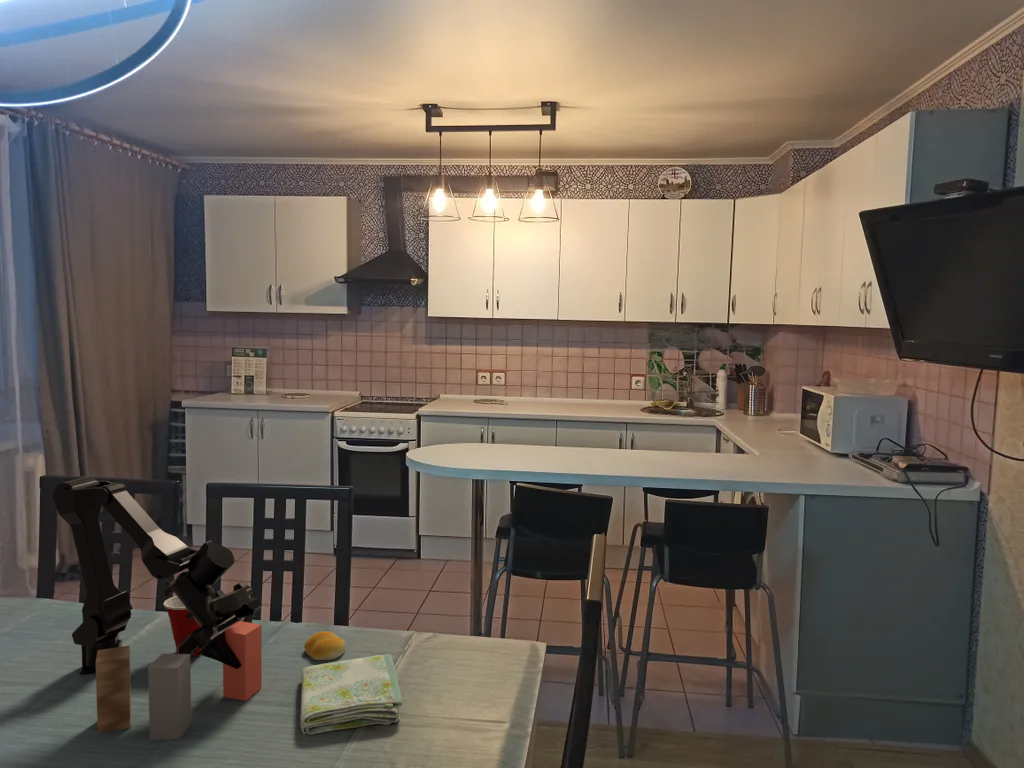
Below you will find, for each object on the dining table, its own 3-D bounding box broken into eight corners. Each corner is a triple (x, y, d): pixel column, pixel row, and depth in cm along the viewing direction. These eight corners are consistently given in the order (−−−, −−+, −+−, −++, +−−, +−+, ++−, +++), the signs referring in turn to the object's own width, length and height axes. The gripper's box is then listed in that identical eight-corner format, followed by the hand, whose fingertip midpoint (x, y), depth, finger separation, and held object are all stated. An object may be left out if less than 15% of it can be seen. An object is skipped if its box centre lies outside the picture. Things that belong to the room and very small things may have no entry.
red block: (223, 696, 139) (222, 631, 138) (239, 684, 143) (239, 621, 142) (245, 700, 137) (245, 634, 136) (261, 688, 142) (261, 624, 141)
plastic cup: (214, 636, 164) (213, 585, 163) (222, 655, 155) (222, 601, 154) (161, 646, 159) (160, 593, 158) (167, 667, 150) (166, 611, 149)
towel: (299, 740, 126) (299, 712, 125) (301, 681, 146) (301, 657, 146) (403, 727, 130) (404, 700, 130) (392, 672, 151) (392, 648, 150)
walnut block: (97, 734, 125) (95, 662, 124) (99, 719, 130) (97, 650, 129) (130, 727, 128) (128, 657, 126) (131, 713, 132) (129, 645, 131)
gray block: (149, 739, 124) (148, 667, 123) (163, 723, 129) (161, 653, 128) (178, 740, 124) (177, 667, 123) (191, 723, 129) (190, 654, 128)
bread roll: (317, 666, 152) (317, 647, 152) (299, 650, 159) (299, 633, 159) (353, 654, 158) (353, 637, 157) (333, 640, 164) (333, 623, 164)
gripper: (190, 590, 130) (243, 658, 128) (253, 558, 148) (301, 617, 146) (155, 626, 133) (206, 693, 131) (221, 591, 151) (267, 649, 149)
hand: (248, 660), depth 139 cm, fingers closed on red block, 5 cm apart
